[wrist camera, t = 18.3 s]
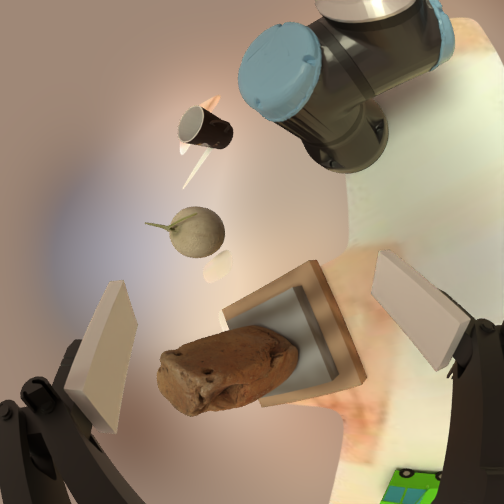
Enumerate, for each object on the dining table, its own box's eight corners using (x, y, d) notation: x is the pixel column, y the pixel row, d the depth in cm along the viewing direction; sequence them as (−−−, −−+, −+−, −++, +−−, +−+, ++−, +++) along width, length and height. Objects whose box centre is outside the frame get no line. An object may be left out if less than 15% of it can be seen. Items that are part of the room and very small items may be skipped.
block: (245, 355, 48) (151, 390, 32) (252, 318, 47) (151, 343, 31) (296, 381, 41) (204, 438, 26) (307, 341, 40) (210, 390, 25)
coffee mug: (205, 146, 64) (172, 136, 56) (221, 115, 61) (189, 101, 53) (233, 164, 58) (198, 153, 50) (251, 129, 55) (218, 113, 47)
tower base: (231, 307, 58) (211, 311, 53) (316, 259, 46) (299, 260, 41) (270, 401, 52) (252, 413, 47) (366, 377, 39) (355, 393, 35)
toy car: (442, 499, 25) (432, 533, 17) (385, 493, 33) (368, 526, 25) (460, 467, 25) (454, 503, 17) (398, 462, 33) (382, 497, 26)
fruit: (244, 240, 56) (185, 237, 44) (210, 265, 62) (153, 267, 51) (227, 198, 59) (170, 187, 47) (196, 225, 65) (141, 221, 54)
